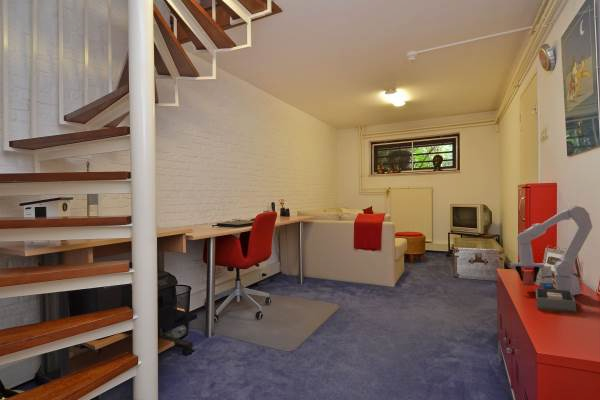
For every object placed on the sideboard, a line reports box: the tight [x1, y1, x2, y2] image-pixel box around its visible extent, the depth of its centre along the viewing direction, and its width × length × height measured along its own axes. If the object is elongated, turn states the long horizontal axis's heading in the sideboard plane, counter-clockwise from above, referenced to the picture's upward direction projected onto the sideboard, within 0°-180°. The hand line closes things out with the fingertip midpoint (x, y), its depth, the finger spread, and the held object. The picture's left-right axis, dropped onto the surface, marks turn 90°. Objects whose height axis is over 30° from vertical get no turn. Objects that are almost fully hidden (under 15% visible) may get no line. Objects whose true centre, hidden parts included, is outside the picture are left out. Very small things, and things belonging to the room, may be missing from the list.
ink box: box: [535, 262, 554, 289], centre depth 171 cm, size 9×5×12 cm, turn 168°
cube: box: [547, 292, 562, 300], centre depth 139 cm, size 5×5×5 cm
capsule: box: [521, 269, 536, 287], centre depth 165 cm, size 5×5×7 cm
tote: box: [535, 287, 577, 314], centre depth 142 cm, size 17×13×5 cm
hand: (528, 281), depth 165 cm, fingers closed on capsule, 5 cm apart
